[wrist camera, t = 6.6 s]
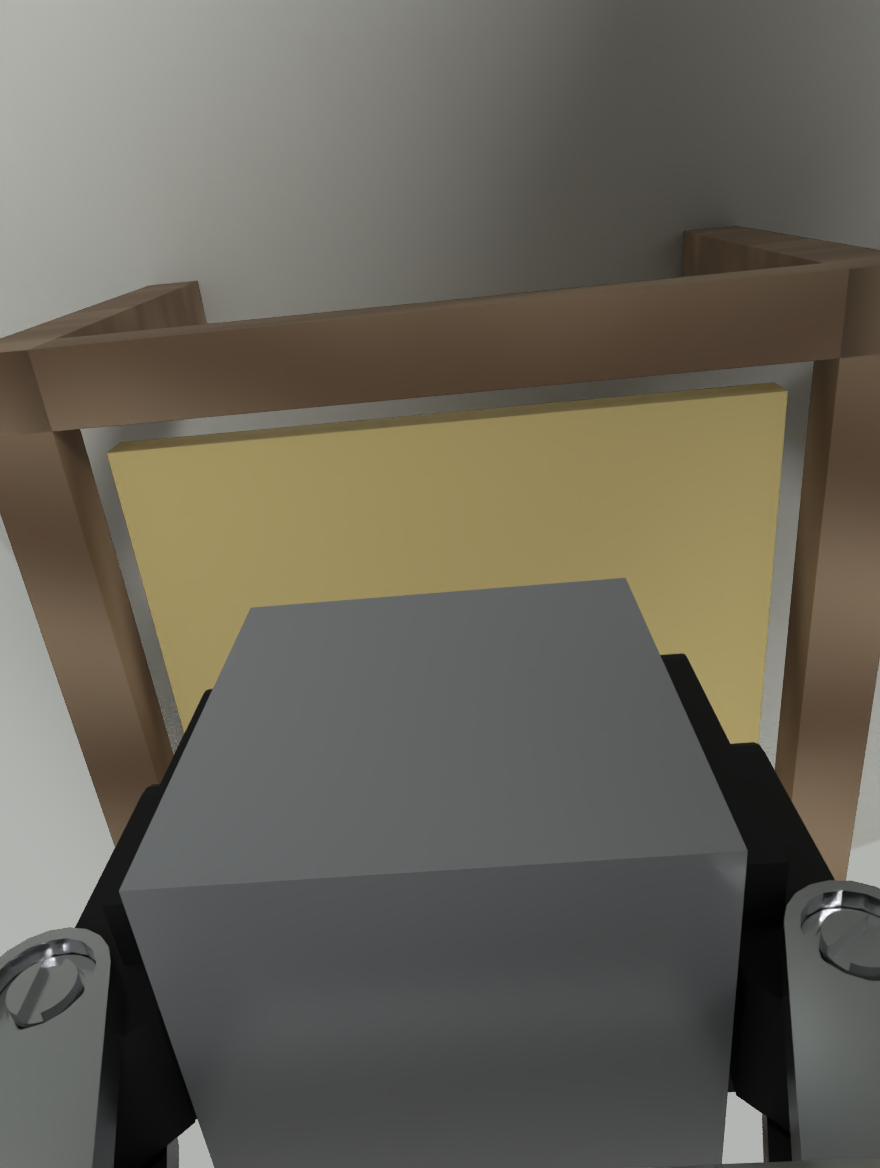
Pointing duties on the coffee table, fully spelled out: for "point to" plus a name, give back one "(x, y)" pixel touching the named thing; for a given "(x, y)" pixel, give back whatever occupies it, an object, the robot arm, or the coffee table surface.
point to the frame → (453, 366)
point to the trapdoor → (473, 521)
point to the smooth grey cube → (446, 891)
